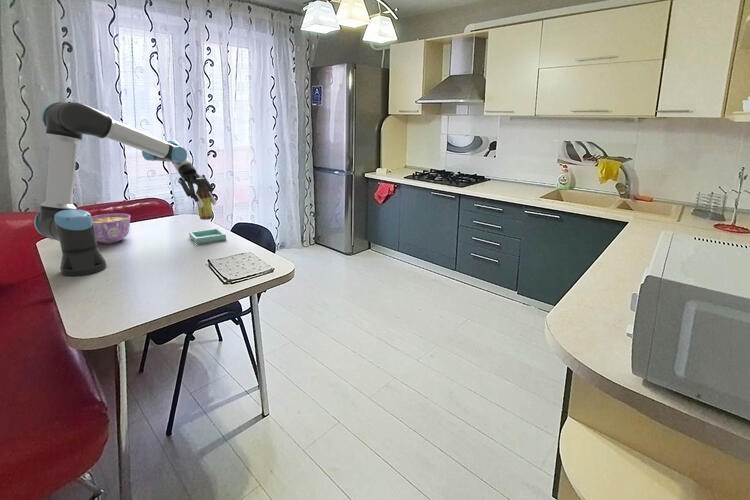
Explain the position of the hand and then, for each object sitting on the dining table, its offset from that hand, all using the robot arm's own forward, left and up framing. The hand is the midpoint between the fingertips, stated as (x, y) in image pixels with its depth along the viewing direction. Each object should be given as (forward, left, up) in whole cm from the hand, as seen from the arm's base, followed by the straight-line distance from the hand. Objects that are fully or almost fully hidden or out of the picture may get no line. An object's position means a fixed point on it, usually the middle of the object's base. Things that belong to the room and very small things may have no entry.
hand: (208, 204), depth 204 cm
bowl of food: (+25, +42, -18) cm, 52 cm away
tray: (+3, +2, -18) cm, 18 cm away
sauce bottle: (+3, +1, -8) cm, 8 cm away
